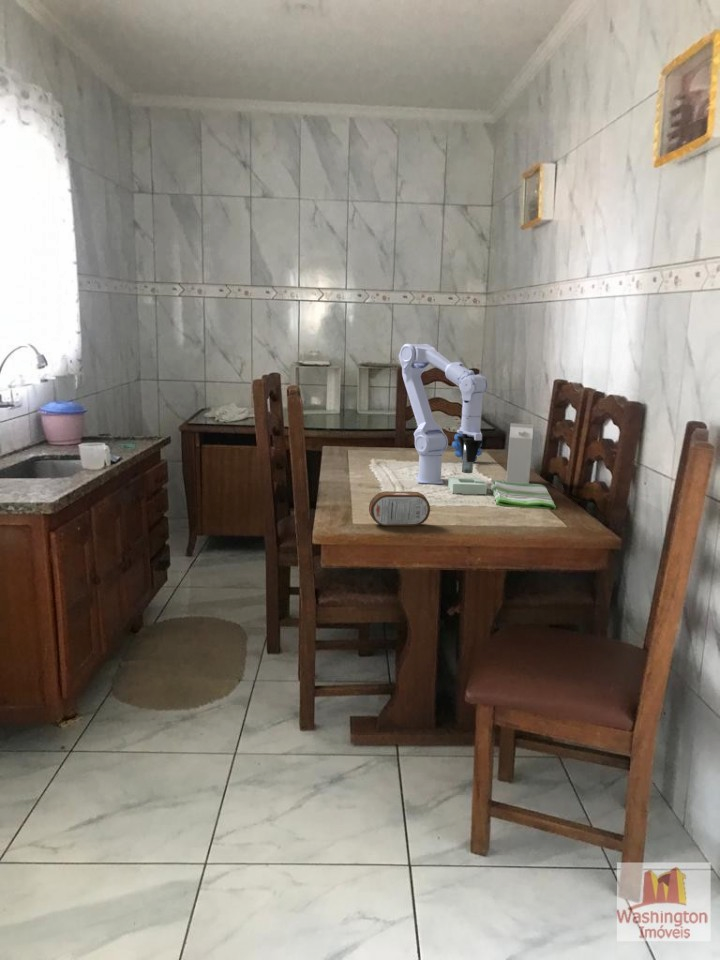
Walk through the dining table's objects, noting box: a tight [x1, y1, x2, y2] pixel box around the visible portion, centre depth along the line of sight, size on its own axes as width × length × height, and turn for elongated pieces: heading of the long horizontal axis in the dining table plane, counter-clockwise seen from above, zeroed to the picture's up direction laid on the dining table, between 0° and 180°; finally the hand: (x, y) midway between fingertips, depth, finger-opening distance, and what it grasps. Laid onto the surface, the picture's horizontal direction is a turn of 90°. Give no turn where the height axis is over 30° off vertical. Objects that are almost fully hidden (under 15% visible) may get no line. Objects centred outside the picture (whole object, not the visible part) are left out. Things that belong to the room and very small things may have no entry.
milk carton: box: [505, 422, 534, 484], centre depth 234 cm, size 7×7×19 cm
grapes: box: [451, 433, 483, 462], centre depth 267 cm, size 12×7×12 cm, turn 99°
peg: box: [461, 443, 474, 474], centre depth 218 cm, size 3×3×9 cm
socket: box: [447, 476, 488, 496], centre depth 220 cm, size 10×10×3 cm
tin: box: [368, 490, 431, 527], centre depth 178 cm, size 15×3×8 cm, turn 99°
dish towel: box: [490, 479, 557, 510], centre depth 213 cm, size 17×23×4 cm
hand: (468, 460), depth 219 cm, fingers closed on peg, 3 cm apart
